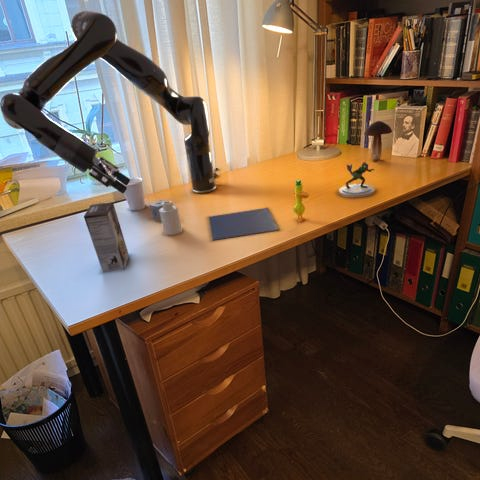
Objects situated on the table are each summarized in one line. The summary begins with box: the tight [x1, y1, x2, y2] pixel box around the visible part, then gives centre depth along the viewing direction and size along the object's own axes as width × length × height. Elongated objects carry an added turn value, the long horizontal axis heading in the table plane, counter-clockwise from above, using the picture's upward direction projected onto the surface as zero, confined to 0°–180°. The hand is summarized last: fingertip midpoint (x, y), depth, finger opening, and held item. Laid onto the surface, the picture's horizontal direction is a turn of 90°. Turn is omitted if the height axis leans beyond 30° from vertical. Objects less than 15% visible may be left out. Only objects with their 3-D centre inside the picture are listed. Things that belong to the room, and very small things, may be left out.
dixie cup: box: [119, 177, 146, 211], centre depth 153 cm, size 8×8×10 cm
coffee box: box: [83, 201, 130, 273], centre depth 112 cm, size 9×6×16 cm
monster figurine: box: [338, 161, 376, 199], centre depth 140 cm, size 12×12×10 cm
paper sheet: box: [208, 207, 280, 241], centre depth 131 cm, size 20×20×1 cm
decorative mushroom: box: [363, 120, 393, 161], centre depth 169 cm, size 11×11×15 cm
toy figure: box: [292, 179, 310, 222], centre depth 124 cm, size 7×4×12 cm, turn 32°
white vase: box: [159, 200, 183, 236], centre depth 129 cm, size 6×6×10 cm
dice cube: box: [148, 199, 166, 222], centre depth 143 cm, size 5×5×5 cm
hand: (127, 186), depth 122 cm, fingers open, 8 cm apart
